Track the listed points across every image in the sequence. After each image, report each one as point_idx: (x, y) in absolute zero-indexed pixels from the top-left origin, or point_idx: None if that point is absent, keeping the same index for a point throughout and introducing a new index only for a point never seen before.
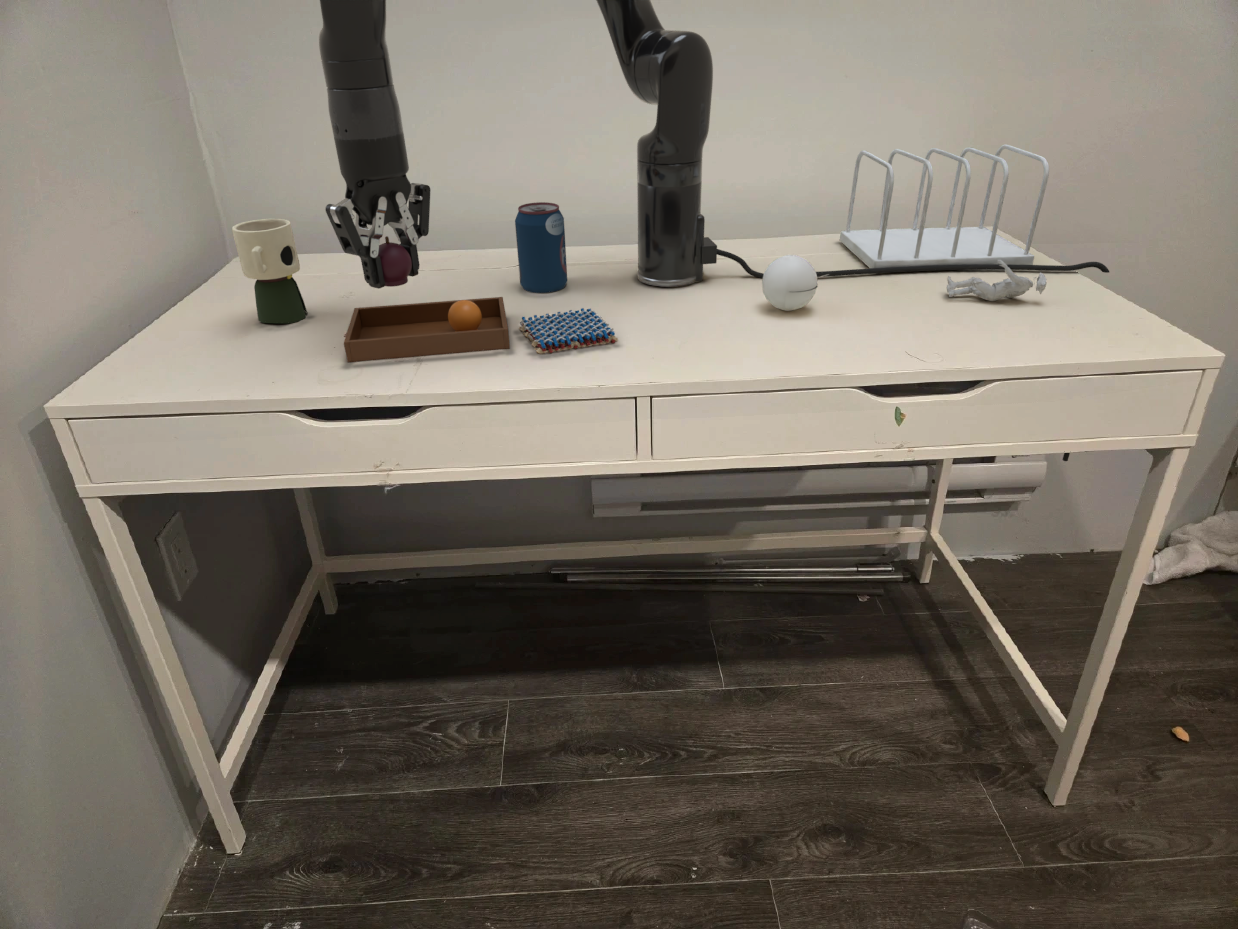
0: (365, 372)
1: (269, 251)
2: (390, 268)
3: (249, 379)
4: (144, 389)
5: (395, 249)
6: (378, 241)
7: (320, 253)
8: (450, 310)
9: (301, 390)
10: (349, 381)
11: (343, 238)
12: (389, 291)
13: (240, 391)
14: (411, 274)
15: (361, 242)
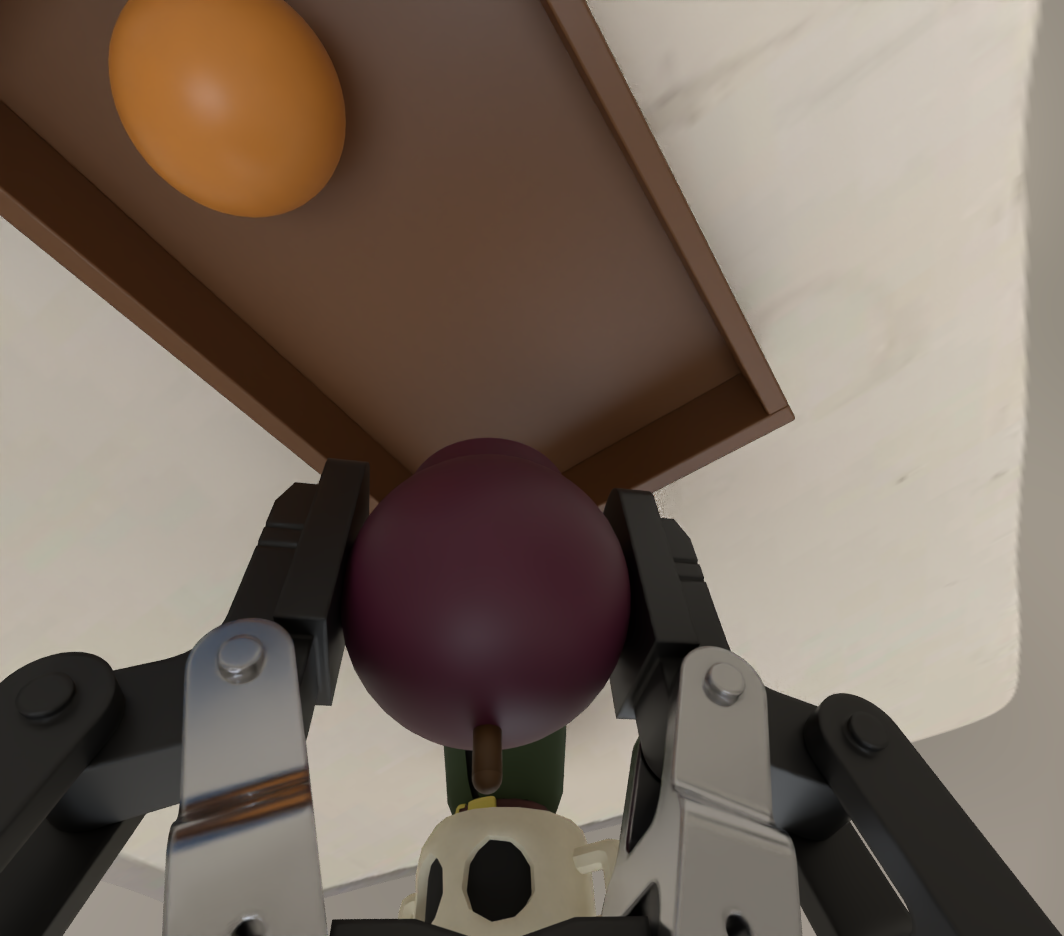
0: (798, 277)
1: (564, 915)
2: (607, 532)
3: (881, 539)
4: (942, 658)
5: (517, 639)
6: (684, 761)
7: (119, 854)
8: (303, 175)
9: (966, 373)
10: (888, 276)
11: (874, 896)
12: (156, 642)
13: (964, 508)
14: (366, 482)
15: (880, 805)
